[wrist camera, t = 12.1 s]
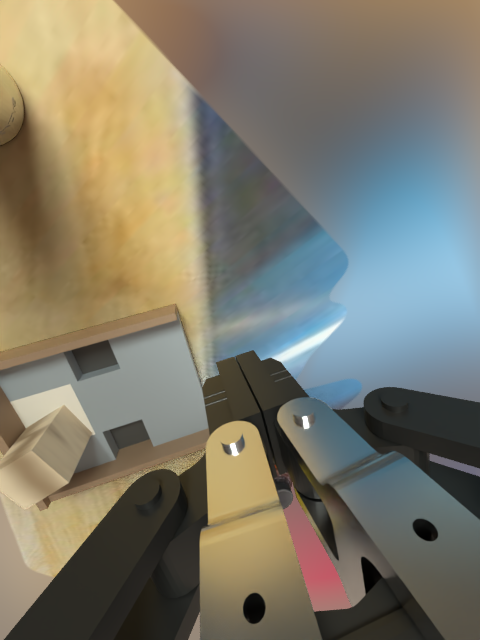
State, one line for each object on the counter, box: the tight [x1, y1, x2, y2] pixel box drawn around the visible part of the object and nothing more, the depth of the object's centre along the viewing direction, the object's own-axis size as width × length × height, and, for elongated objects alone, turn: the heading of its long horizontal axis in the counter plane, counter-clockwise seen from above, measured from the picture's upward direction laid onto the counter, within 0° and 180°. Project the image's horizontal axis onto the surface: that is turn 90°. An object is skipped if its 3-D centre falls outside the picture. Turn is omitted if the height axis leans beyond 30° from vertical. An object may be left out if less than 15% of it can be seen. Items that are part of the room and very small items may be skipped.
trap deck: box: [0, 304, 210, 511], centre depth 39 cm, size 26×22×6 cm
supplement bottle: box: [274, 463, 293, 509], centre depth 46 cm, size 6×6×11 cm
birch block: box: [0, 405, 92, 510], centre depth 36 cm, size 6×6×9 cm
